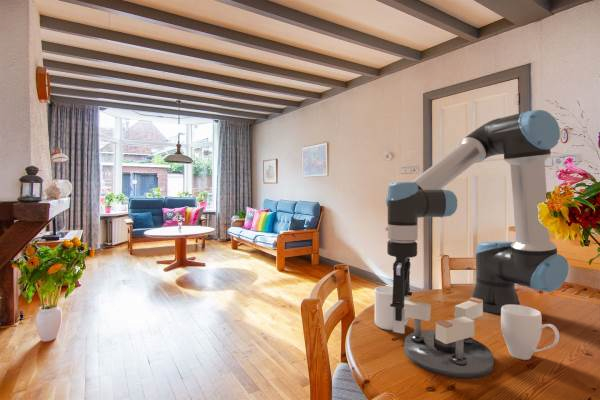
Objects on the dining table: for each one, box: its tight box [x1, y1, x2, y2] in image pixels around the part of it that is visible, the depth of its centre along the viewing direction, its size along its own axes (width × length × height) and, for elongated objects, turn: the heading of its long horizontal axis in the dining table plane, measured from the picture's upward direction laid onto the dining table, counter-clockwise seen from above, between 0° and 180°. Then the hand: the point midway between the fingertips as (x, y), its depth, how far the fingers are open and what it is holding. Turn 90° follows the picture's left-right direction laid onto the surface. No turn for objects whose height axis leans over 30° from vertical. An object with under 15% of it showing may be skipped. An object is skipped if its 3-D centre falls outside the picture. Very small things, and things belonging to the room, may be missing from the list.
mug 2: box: [500, 304, 560, 361], centre depth 79 cm, size 12×8×11 cm
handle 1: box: [398, 300, 431, 337], centre depth 85 cm, size 9×3×9 cm, turn 63°
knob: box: [435, 317, 475, 359], centre depth 73 cm, size 9×3×9 cm, turn 115°
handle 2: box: [453, 296, 484, 339], centre depth 85 cm, size 9×3×9 cm, turn 126°
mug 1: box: [374, 285, 409, 331], centre depth 97 cm, size 9×12×11 cm
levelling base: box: [404, 329, 494, 379], centre depth 81 cm, size 20×20×6 cm
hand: (401, 325), depth 86 cm, fingers open, 8 cm apart
